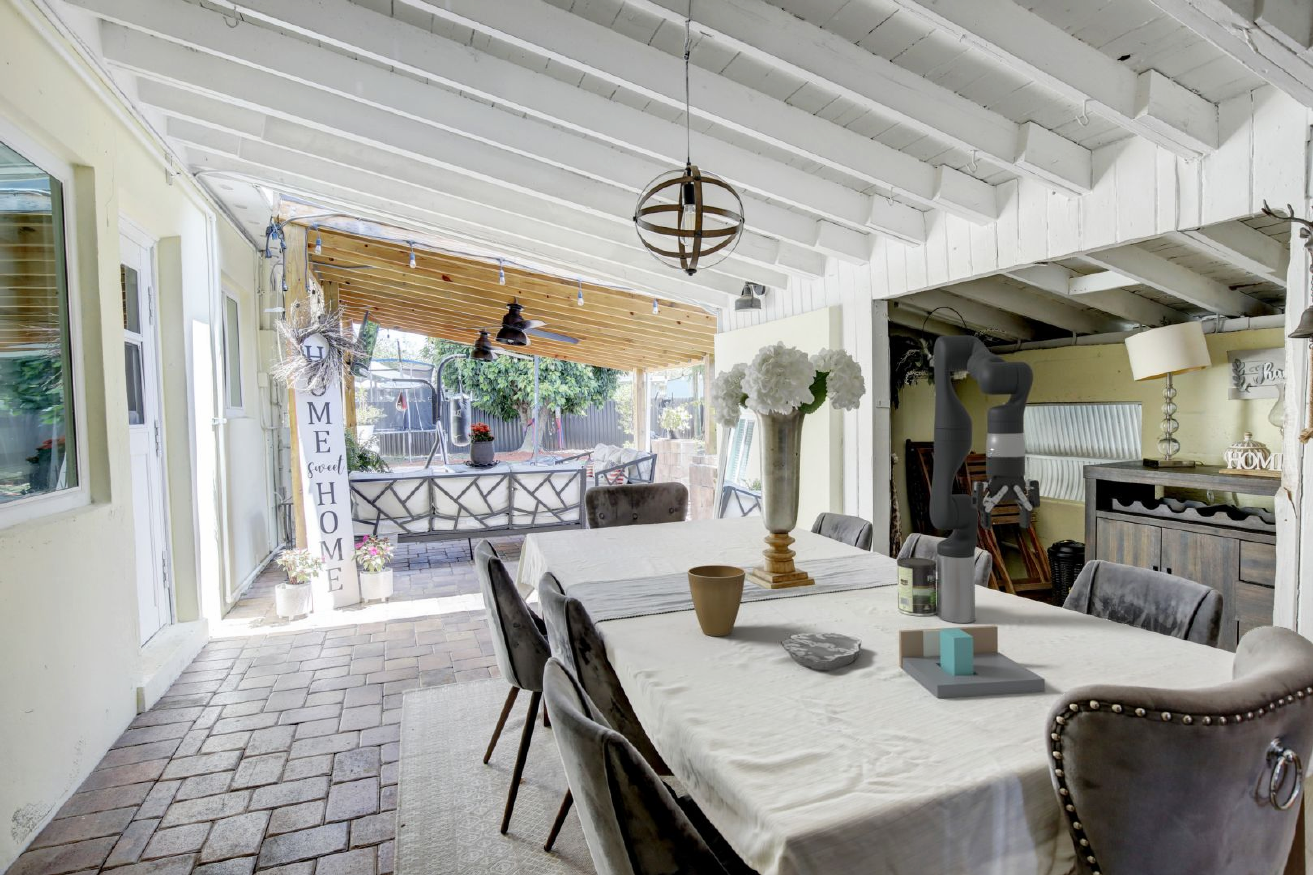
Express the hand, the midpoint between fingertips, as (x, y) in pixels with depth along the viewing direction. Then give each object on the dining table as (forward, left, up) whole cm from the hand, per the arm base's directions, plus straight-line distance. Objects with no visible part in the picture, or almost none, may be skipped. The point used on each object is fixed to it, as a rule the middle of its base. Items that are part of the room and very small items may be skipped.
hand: (1005, 528), depth 145 cm
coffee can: (-40, -1, -30) cm, 50 cm away
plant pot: (-31, -59, -30) cm, 73 cm away
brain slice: (-10, -39, -30) cm, 50 cm away
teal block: (+8, -16, -30) cm, 35 cm away
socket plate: (+8, -13, -30) cm, 33 cm away
